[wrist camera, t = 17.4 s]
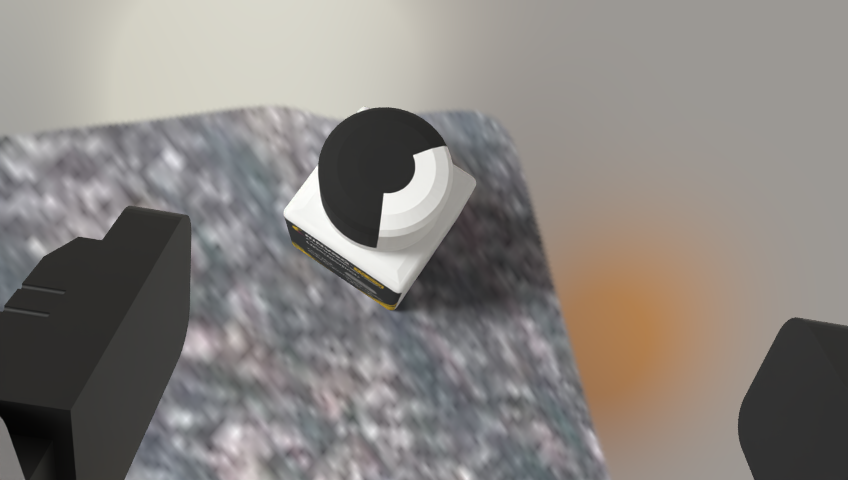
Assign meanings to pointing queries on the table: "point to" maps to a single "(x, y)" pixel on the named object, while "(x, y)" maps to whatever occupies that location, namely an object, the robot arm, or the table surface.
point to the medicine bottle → (379, 202)
